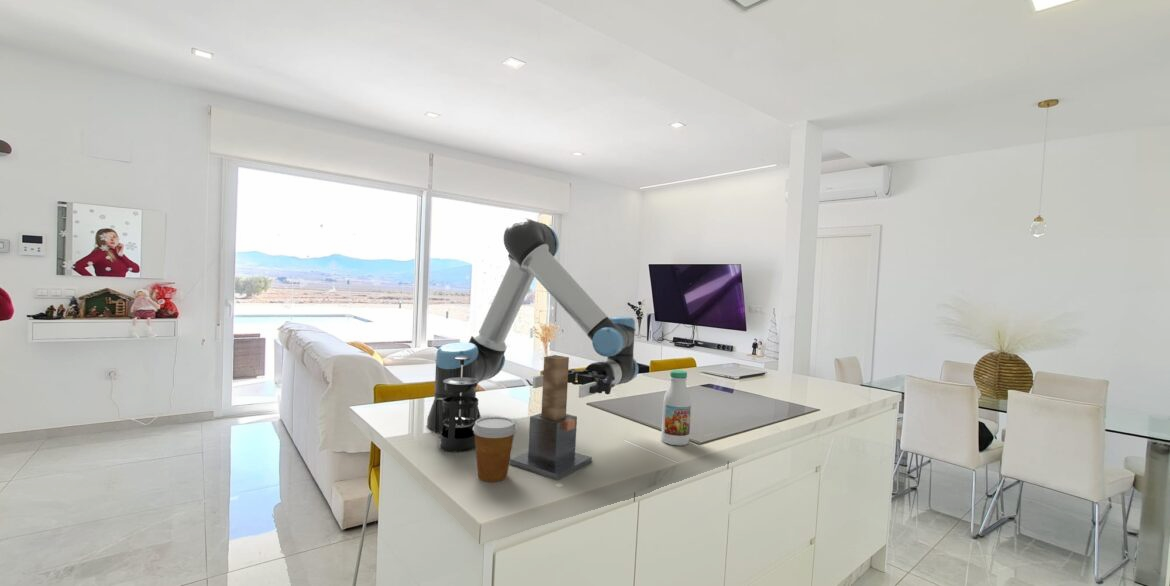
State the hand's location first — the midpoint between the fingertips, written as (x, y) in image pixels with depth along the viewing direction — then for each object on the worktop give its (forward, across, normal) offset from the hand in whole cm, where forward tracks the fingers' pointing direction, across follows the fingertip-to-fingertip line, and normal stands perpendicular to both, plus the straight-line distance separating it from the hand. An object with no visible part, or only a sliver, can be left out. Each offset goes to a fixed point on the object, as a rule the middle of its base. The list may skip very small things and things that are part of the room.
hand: (556, 387), depth 116 cm
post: (0, +1, -17) cm, 17 cm away
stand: (0, 0, -18) cm, 18 cm away
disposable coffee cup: (+14, +6, -19) cm, 24 cm away
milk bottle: (-36, -16, -19) cm, 44 cm away
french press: (+6, +26, -19) cm, 33 cm away
